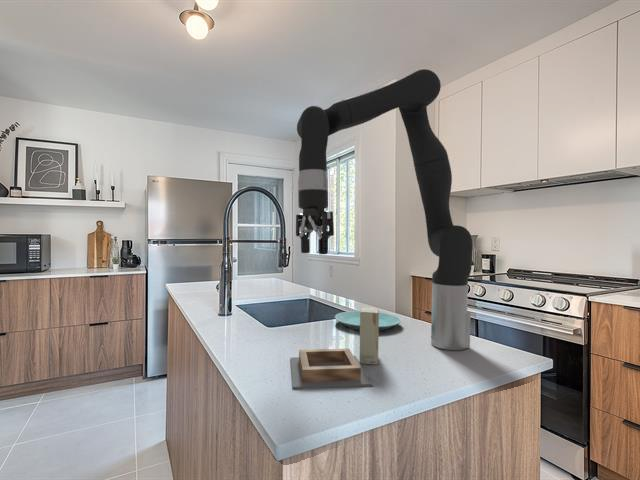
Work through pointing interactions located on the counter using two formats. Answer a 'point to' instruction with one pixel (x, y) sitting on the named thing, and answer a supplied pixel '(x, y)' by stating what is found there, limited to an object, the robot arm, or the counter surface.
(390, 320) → the plate
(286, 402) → the counter surface
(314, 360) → the collar
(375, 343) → the skincare box
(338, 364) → the mat
